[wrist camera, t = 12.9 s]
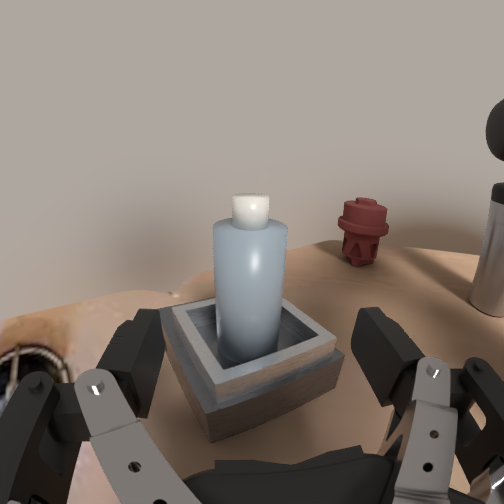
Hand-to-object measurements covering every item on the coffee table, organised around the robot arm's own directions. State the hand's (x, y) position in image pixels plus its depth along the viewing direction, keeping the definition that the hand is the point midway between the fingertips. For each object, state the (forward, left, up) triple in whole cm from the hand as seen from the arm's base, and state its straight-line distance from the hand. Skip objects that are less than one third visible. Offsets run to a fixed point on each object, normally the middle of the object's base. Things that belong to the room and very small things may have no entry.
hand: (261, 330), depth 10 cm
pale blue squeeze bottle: (-4, -8, -8) cm, 13 cm away
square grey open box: (-4, -10, -12) cm, 17 cm away
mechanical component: (-37, -24, -12) cm, 46 cm away
